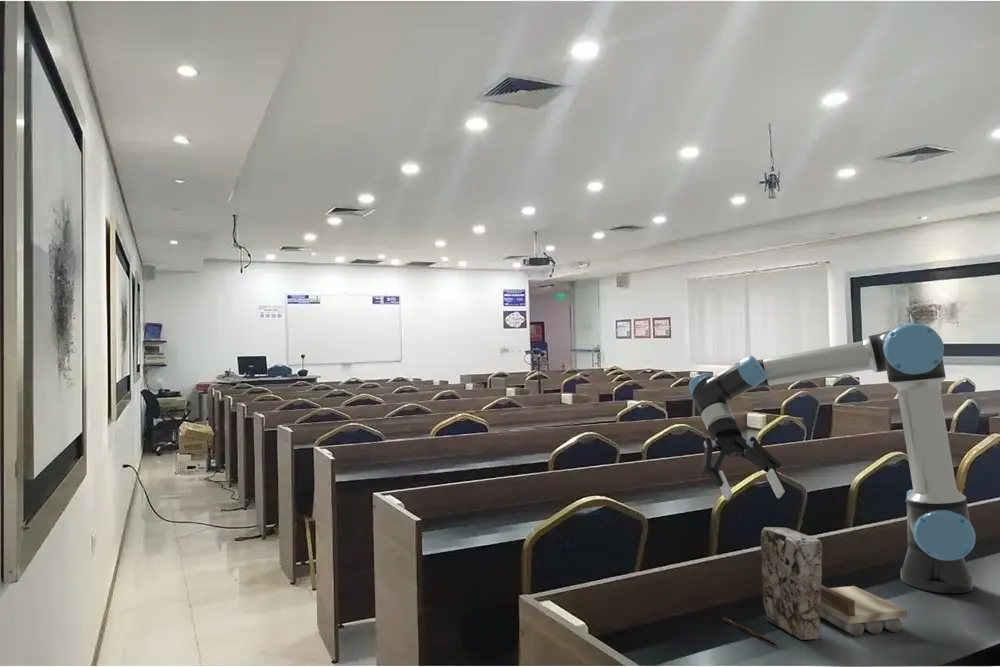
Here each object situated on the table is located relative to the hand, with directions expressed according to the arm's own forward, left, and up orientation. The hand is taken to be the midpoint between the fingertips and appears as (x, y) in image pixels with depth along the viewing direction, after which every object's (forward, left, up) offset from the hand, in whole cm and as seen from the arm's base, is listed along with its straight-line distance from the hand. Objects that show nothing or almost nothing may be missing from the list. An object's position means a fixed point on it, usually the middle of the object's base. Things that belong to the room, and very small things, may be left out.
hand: (755, 496), depth 159 cm
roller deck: (-12, +16, -24) cm, 31 cm away
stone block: (+3, +16, -24) cm, 29 cm away
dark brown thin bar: (+13, +16, -25) cm, 32 cm away
